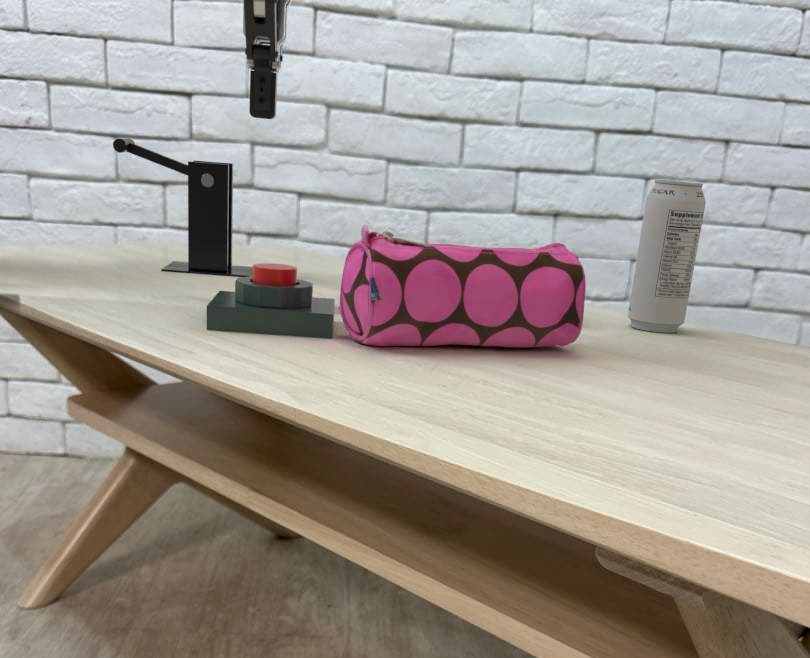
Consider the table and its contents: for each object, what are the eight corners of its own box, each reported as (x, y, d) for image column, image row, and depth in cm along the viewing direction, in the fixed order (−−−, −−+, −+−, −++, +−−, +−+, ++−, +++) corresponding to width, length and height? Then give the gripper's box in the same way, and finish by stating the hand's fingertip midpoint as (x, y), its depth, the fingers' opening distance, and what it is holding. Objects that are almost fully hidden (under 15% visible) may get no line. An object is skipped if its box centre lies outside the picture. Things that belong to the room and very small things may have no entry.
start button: (250, 287, 88) (250, 267, 88) (254, 281, 92) (254, 262, 92) (295, 291, 89) (296, 270, 88) (297, 284, 92) (298, 265, 92)
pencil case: (365, 358, 82) (373, 231, 78) (331, 334, 90) (337, 219, 86) (591, 358, 89) (608, 242, 85) (540, 336, 98) (554, 230, 94)
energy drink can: (660, 323, 112) (684, 181, 106) (694, 333, 106) (721, 185, 101) (615, 322, 109) (637, 178, 104) (647, 333, 104) (672, 182, 99)
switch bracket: (161, 280, 113) (159, 159, 108) (173, 271, 120) (172, 158, 115) (250, 286, 114) (252, 167, 109) (256, 277, 121) (258, 165, 116)
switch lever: (110, 154, 109) (115, 131, 108) (120, 153, 114) (125, 132, 113) (216, 195, 111) (223, 174, 110) (222, 193, 116) (228, 172, 115)
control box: (206, 330, 87) (206, 284, 86) (219, 313, 96) (219, 271, 94) (332, 339, 88) (334, 293, 87) (334, 321, 96) (336, 279, 95)
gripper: (232, -100, 87) (228, 115, 93) (211, -138, 75) (209, 113, 81) (318, -91, 87) (309, 123, 94) (312, -127, 75) (301, 121, 82)
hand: (262, 118), depth 87 cm, fingers closed
